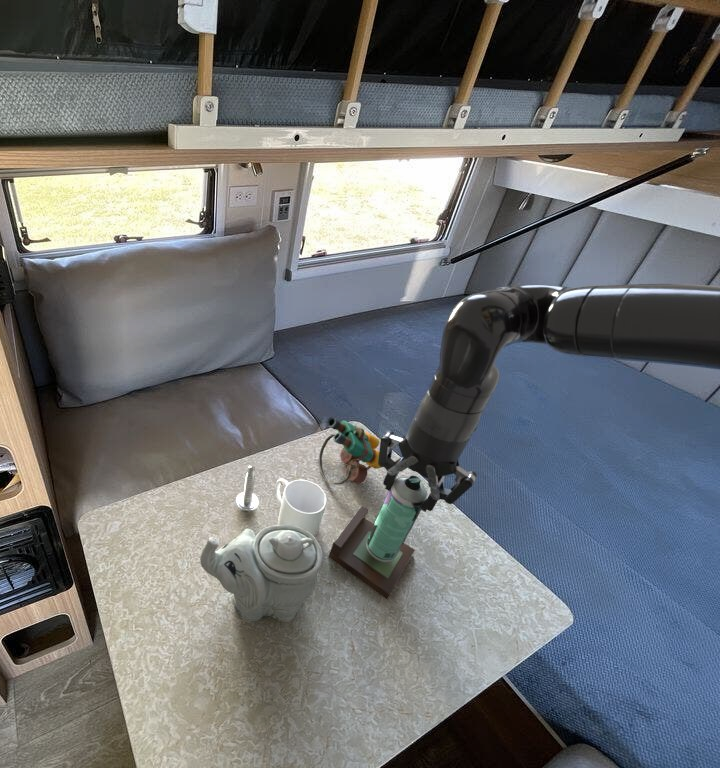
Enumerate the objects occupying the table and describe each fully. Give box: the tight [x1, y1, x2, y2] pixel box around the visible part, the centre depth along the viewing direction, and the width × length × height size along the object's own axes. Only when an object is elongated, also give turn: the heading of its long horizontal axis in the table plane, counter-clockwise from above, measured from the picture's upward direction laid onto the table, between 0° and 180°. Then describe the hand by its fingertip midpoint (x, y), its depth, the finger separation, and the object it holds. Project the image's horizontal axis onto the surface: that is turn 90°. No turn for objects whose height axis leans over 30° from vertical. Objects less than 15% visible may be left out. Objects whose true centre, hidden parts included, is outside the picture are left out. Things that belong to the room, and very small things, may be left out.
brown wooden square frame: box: [327, 505, 416, 601], centre depth 78 cm, size 12×12×5 cm
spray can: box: [366, 475, 429, 562], centre depth 71 cm, size 6×6×20 cm
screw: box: [235, 465, 259, 513], centre depth 85 cm, size 13×5×5 cm
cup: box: [274, 478, 328, 538], centre depth 83 cm, size 8×12×10 cm
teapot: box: [199, 524, 324, 623], centre depth 68 cm, size 16×15×19 cm
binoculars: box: [318, 416, 382, 486], centre depth 94 cm, size 14×14×15 cm
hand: (406, 497), depth 68 cm, fingers closed on spray can, 5 cm apart
